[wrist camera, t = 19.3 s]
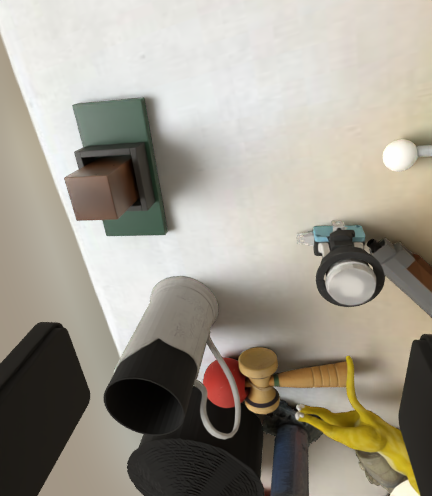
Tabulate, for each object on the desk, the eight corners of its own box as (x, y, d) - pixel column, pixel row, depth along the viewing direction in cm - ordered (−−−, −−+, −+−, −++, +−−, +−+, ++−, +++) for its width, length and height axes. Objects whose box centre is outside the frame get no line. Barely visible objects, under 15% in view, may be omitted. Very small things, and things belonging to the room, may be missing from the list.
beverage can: (257, 429, 54) (251, 520, 44) (270, 395, 50) (266, 485, 40) (318, 445, 53) (326, 540, 43) (335, 411, 50) (349, 507, 39)
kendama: (342, 329, 45) (198, 345, 47) (358, 374, 40) (196, 391, 42) (340, 366, 49) (209, 380, 51) (354, 411, 44) (208, 424, 46)
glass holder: (170, 263, 43) (121, 356, 30) (268, 325, 45) (262, 438, 32) (138, 309, 47) (82, 408, 34) (229, 364, 49) (209, 477, 36)
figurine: (423, 553, 40) (504, 510, 37) (285, 418, 42) (349, 365, 39) (413, 512, 45) (483, 471, 42) (289, 392, 47) (347, 344, 44)
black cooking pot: (126, 419, 58) (80, 525, 45) (195, 366, 50) (163, 478, 37) (213, 476, 62) (194, 590, 49) (292, 436, 53) (293, 561, 41)
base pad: (77, 103, 36) (57, 108, 33) (144, 97, 34) (130, 101, 31) (110, 232, 42) (96, 246, 39) (167, 231, 41) (158, 245, 38)
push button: (296, 255, 40) (299, 312, 31) (297, 210, 37) (300, 258, 29) (361, 255, 38) (383, 315, 30) (366, 208, 36) (391, 258, 27)
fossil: (395, 534, 43) (352, 442, 47) (375, 518, 52) (341, 442, 57) (507, 490, 43) (453, 403, 48) (468, 481, 52) (426, 409, 57)
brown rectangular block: (99, 156, 37) (63, 177, 31) (137, 154, 36) (107, 175, 30) (109, 194, 39) (76, 220, 33) (144, 192, 38) (117, 219, 32)
